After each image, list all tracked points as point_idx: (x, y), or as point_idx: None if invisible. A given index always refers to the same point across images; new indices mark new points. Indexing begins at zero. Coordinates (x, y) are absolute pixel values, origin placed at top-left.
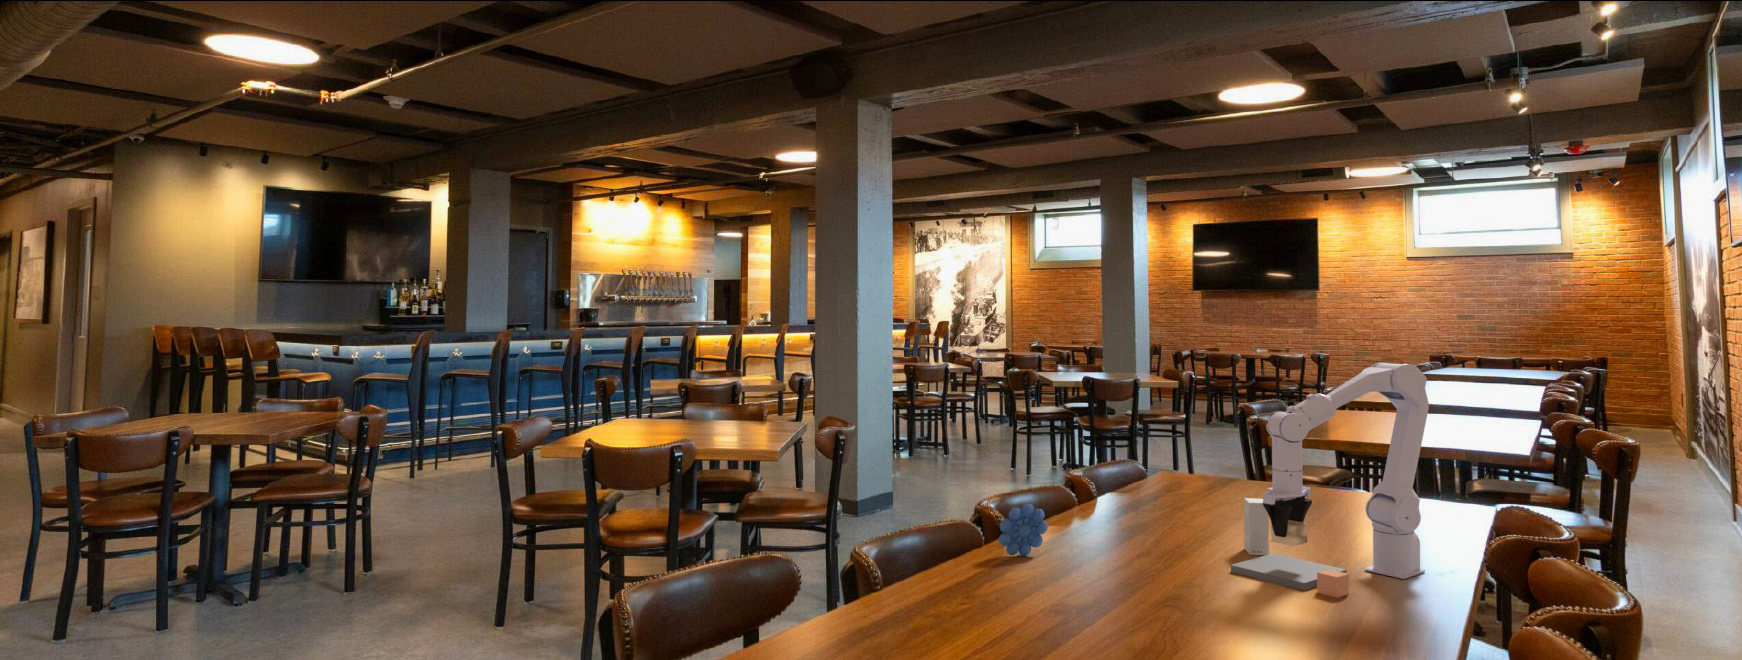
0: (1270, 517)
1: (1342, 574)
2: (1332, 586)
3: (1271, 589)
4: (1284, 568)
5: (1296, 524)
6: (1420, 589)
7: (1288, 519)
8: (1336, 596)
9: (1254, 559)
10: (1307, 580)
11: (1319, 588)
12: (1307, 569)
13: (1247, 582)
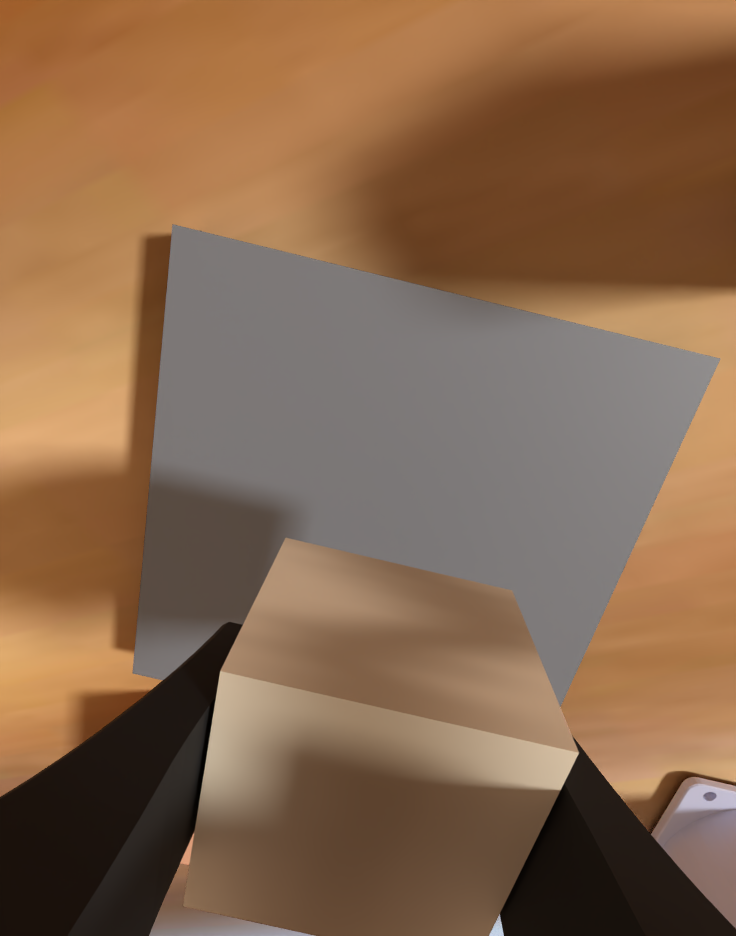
0: (47, 779)
1: (186, 855)
2: None
3: (51, 532)
4: (338, 532)
5: (325, 906)
6: (502, 933)
7: (562, 805)
8: None
9: (440, 308)
10: None
11: None
12: None
13: (66, 399)
